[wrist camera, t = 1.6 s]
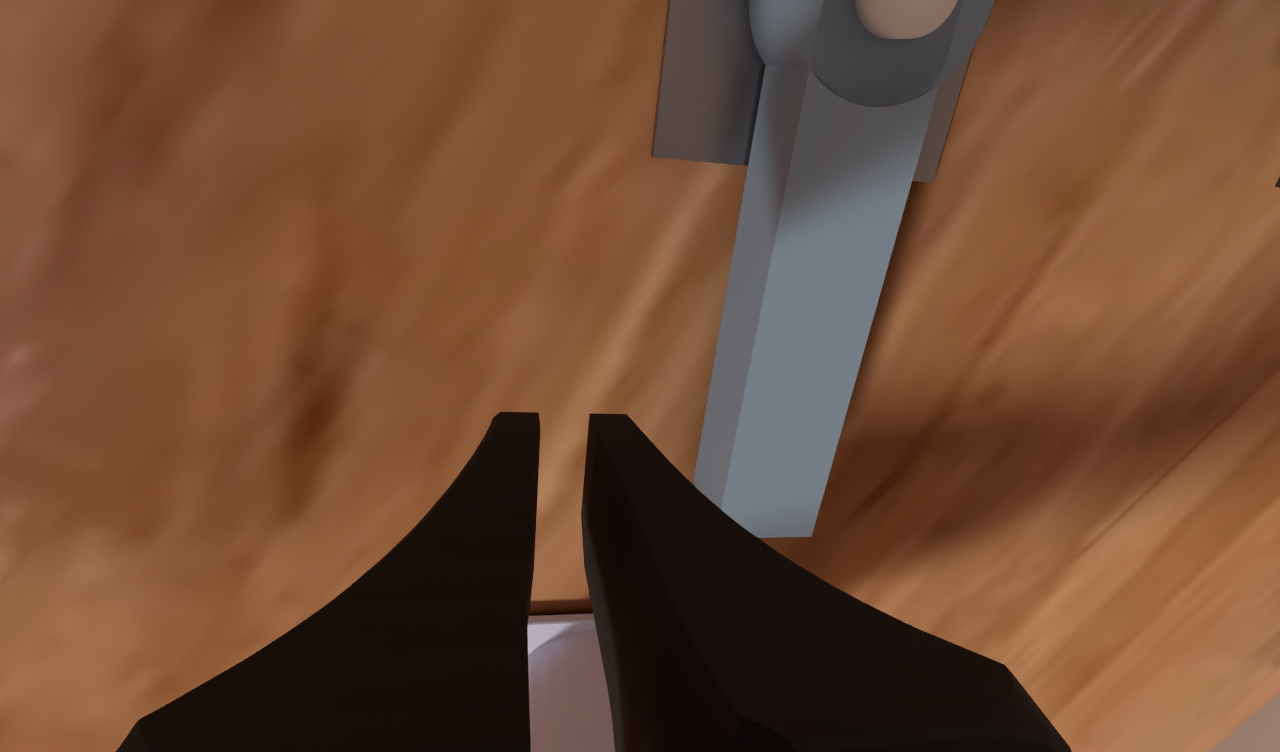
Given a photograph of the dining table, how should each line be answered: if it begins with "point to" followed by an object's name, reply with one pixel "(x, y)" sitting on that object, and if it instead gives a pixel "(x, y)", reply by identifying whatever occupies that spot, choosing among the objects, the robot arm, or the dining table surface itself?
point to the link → (817, 238)
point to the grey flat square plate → (739, 89)
